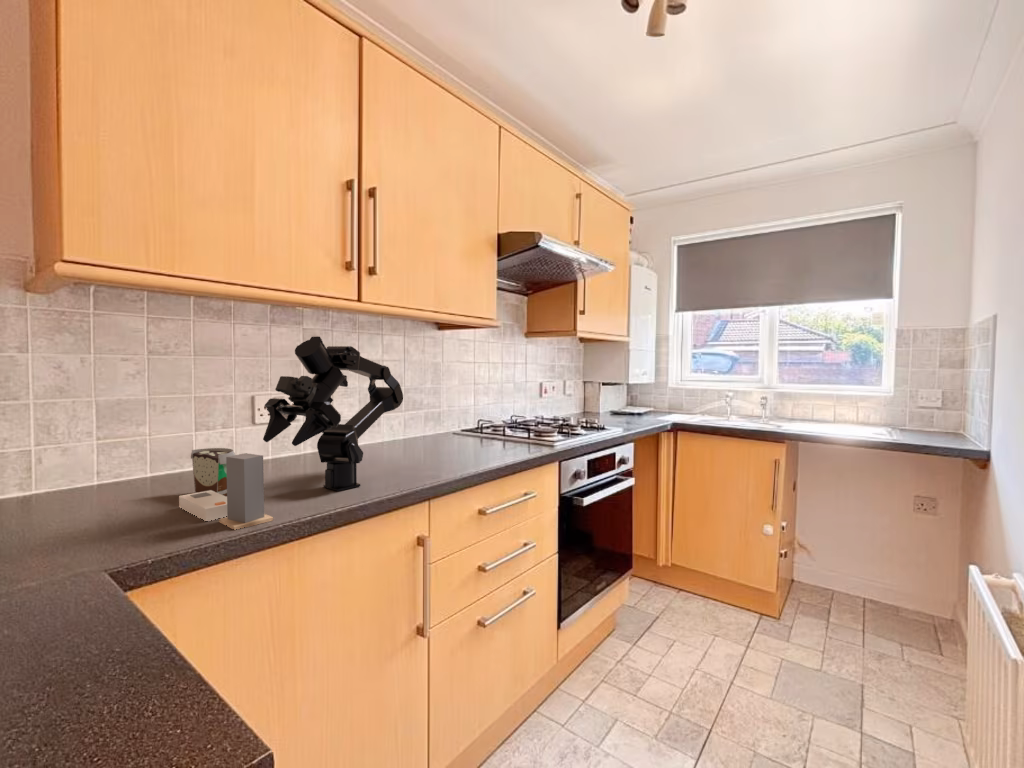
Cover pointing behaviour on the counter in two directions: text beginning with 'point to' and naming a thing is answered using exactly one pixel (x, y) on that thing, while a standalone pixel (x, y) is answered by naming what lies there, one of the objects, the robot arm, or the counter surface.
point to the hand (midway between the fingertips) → (278, 442)
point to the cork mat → (239, 525)
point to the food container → (210, 469)
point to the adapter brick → (245, 487)
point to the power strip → (205, 505)
